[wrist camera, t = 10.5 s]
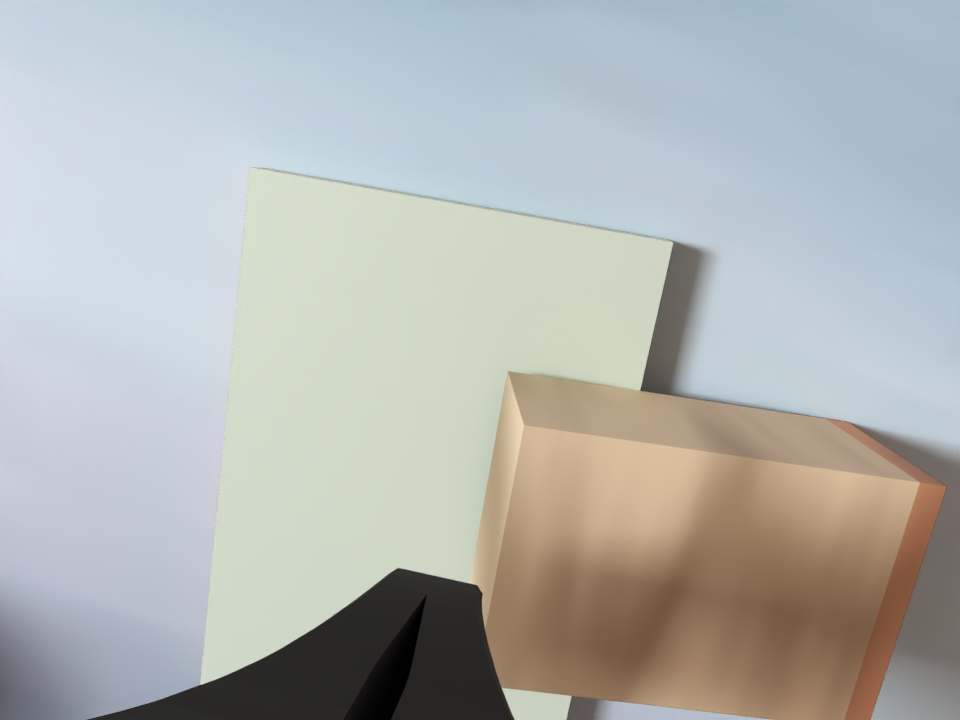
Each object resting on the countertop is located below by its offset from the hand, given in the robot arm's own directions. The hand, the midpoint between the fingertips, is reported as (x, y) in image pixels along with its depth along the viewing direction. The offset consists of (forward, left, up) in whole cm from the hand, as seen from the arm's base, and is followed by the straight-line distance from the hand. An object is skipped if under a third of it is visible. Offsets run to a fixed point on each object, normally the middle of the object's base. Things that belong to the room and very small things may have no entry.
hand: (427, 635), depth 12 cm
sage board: (0, +2, -7) cm, 7 cm away
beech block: (0, 0, -4) cm, 4 cm away
